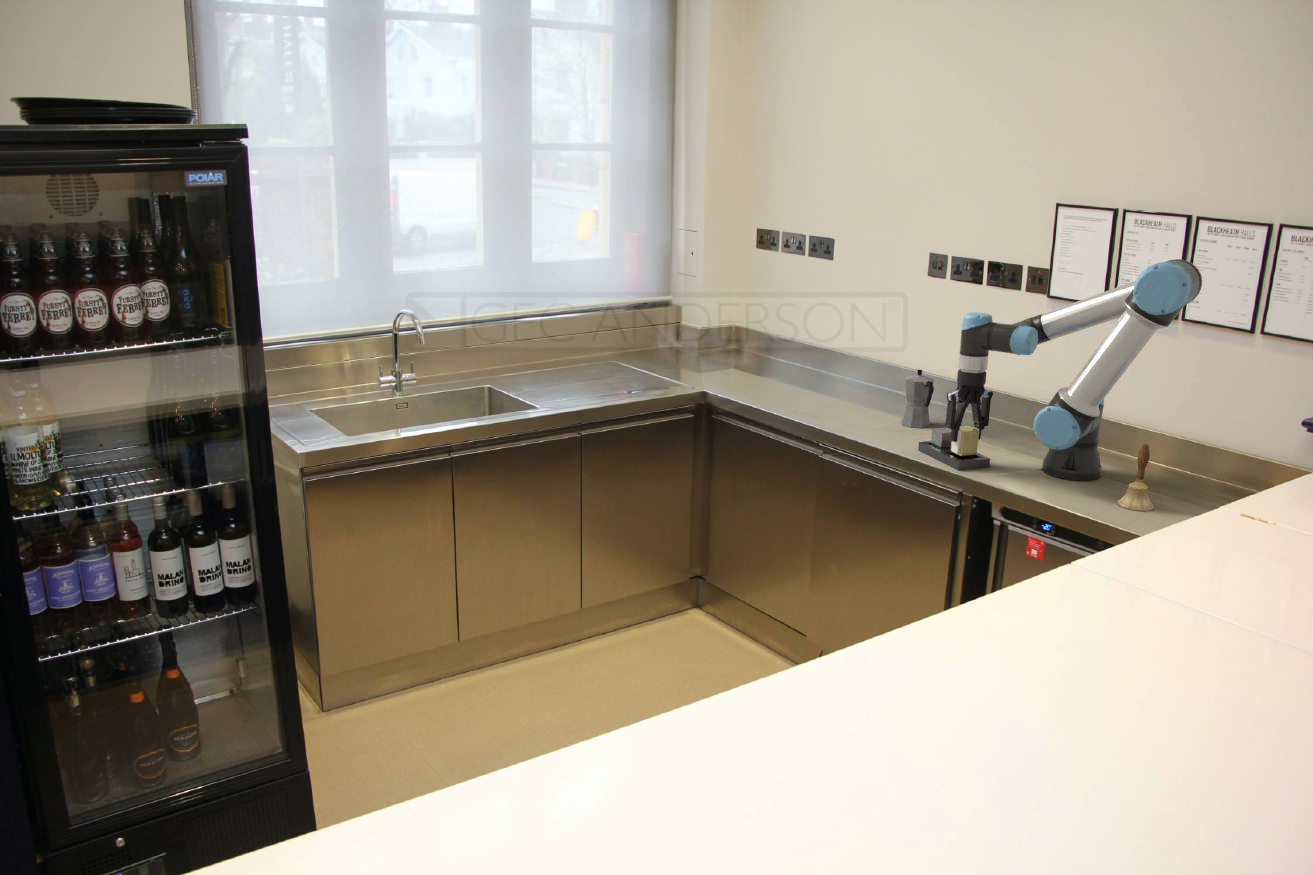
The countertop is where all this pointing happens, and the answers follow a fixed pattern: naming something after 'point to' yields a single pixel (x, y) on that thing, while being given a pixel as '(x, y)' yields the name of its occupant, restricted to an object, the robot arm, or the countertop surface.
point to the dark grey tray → (954, 457)
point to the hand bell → (1138, 486)
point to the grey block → (941, 438)
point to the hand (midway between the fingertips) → (964, 451)
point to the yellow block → (968, 441)
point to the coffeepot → (917, 400)
